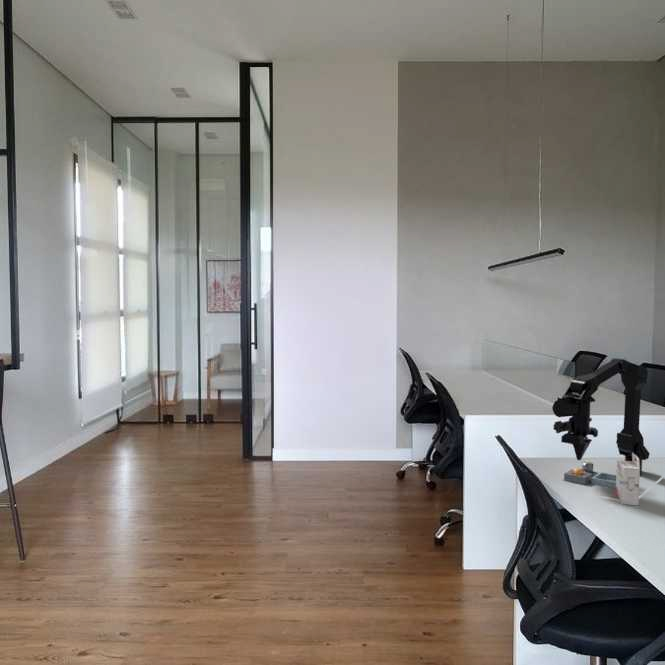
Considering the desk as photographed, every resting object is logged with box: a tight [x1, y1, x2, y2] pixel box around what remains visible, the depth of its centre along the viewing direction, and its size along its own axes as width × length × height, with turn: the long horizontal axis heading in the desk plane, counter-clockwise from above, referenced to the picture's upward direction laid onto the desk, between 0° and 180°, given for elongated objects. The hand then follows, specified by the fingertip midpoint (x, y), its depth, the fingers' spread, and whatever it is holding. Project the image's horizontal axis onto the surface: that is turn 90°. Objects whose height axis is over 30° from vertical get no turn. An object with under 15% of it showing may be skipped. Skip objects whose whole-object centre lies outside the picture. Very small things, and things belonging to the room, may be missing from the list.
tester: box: [563, 468, 599, 486], centre depth 213 cm, size 16×8×3 cm, turn 139°
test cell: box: [581, 461, 594, 474], centre depth 216 cm, size 4×4×4 cm
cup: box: [591, 471, 617, 490], centre depth 207 cm, size 9×9×2 cm
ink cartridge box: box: [615, 452, 641, 506], centre depth 191 cm, size 9×5×15 cm, turn 168°
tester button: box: [573, 467, 583, 476], centre depth 209 cm, size 3×3×2 cm
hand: (579, 459), depth 209 cm, fingers closed
